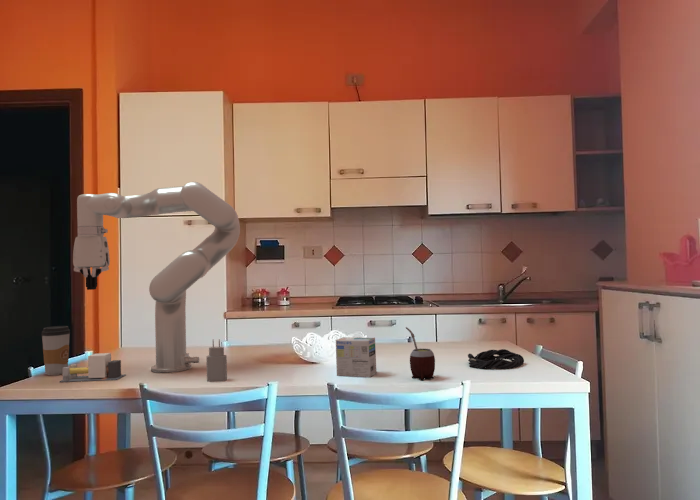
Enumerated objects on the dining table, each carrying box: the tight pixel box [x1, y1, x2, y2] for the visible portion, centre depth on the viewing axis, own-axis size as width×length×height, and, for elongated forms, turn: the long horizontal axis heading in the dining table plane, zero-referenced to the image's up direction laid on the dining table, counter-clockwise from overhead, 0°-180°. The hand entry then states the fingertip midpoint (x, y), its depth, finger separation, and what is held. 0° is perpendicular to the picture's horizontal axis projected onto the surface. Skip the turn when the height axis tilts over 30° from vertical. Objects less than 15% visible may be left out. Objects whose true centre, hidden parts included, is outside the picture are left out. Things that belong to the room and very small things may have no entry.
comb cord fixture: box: [59, 359, 127, 383], centre depth 165 cm, size 17×7×5 cm, turn 92°
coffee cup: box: [41, 325, 71, 376], centre depth 175 cm, size 8×8×15 cm
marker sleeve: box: [87, 352, 112, 378], centre depth 165 cm, size 5×5×7 cm
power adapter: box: [206, 339, 228, 383], centre depth 158 cm, size 3×5×12 cm, turn 86°
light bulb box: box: [335, 336, 377, 378], centre depth 160 cm, size 11×7×11 cm, turn 71°
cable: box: [467, 348, 525, 370], centre depth 168 cm, size 17×14×4 cm
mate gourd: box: [405, 326, 436, 382], centre depth 152 cm, size 8×8×15 cm
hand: (91, 289), depth 173 cm, fingers closed
